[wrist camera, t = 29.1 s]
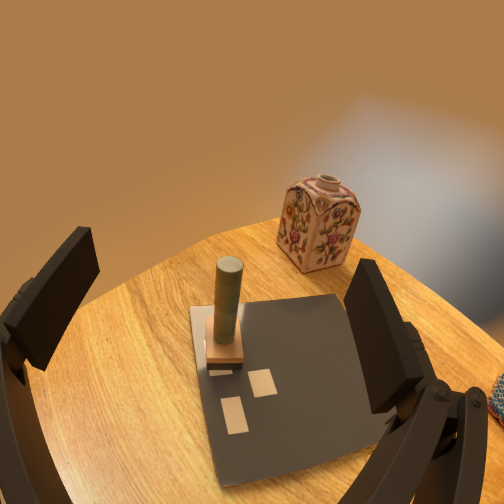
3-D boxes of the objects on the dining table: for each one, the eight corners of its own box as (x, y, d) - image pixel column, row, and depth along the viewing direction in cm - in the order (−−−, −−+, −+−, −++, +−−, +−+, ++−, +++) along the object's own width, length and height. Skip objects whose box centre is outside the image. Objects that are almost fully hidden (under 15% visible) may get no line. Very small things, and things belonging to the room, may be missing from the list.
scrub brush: (205, 330, 40) (207, 244, 32) (236, 330, 41) (248, 245, 33) (206, 370, 35) (207, 286, 26) (241, 370, 35) (256, 286, 27)
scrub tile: (189, 311, 44) (188, 305, 44) (333, 297, 51) (335, 292, 51) (219, 488, 23) (219, 486, 22) (406, 428, 29) (411, 425, 29)
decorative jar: (301, 275, 56) (324, 190, 46) (274, 243, 64) (288, 166, 54) (345, 264, 61) (370, 189, 51) (316, 236, 69) (333, 167, 59)
